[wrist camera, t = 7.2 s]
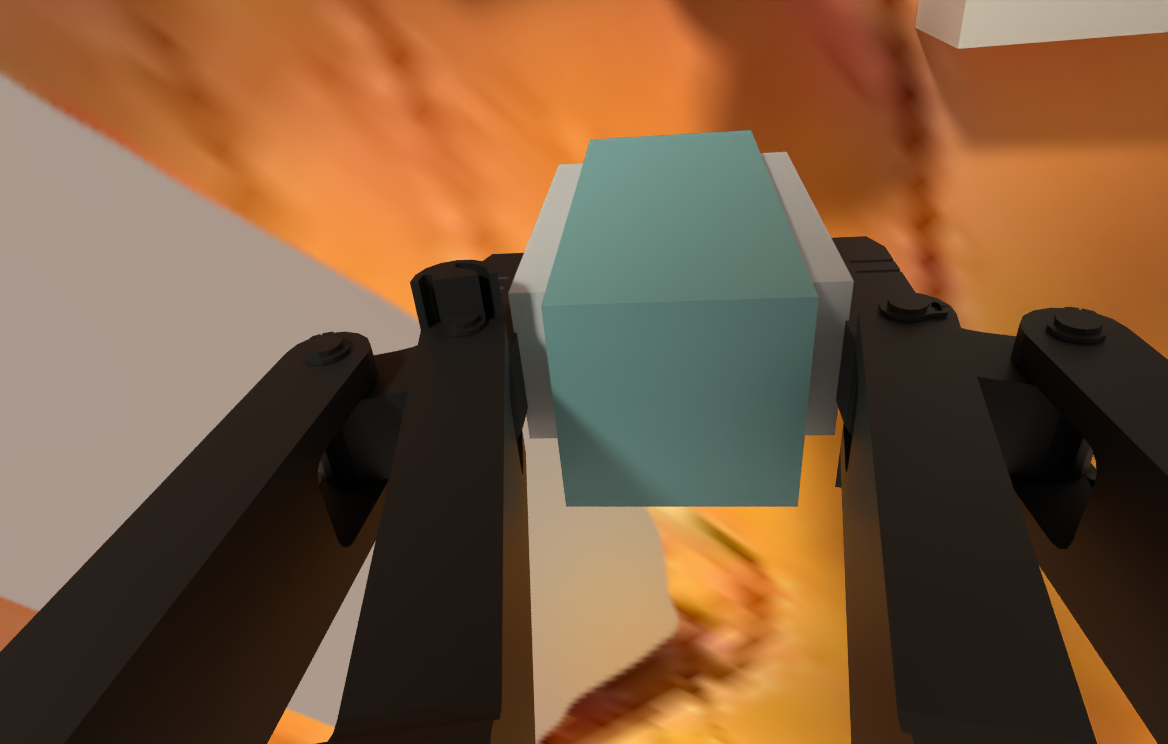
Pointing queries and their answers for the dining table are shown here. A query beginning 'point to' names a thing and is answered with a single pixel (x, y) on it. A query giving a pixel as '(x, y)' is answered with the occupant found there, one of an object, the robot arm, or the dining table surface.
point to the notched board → (1037, 20)
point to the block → (679, 328)
